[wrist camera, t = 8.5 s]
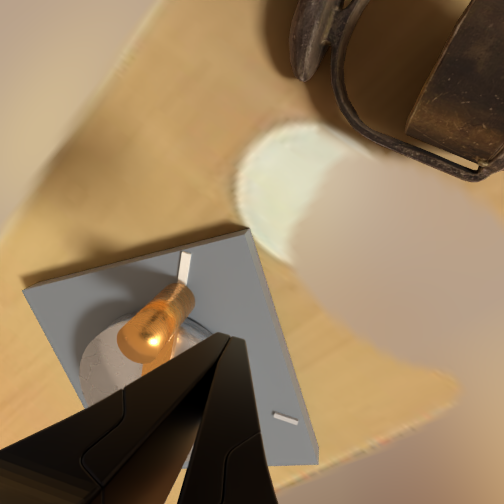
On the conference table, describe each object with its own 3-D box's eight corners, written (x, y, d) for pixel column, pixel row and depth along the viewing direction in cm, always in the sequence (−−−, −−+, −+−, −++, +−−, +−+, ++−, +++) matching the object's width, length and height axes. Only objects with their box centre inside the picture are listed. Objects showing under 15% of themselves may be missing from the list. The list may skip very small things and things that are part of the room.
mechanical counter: (444, 260, 14) (793, 61, 9) (227, 46, 12) (499, -398, 7) (421, 198, 20) (622, 54, 15) (271, 44, 18) (436, -194, 12)
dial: (224, 459, 26) (199, 536, 21) (93, 408, 28) (40, 470, 23) (268, 308, 21) (250, 364, 16) (103, 255, 22) (37, 290, 17)
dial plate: (37, 282, 27) (19, 291, 25) (249, 228, 21) (243, 235, 20) (127, 456, 32) (116, 472, 30) (318, 447, 26) (318, 466, 25)
